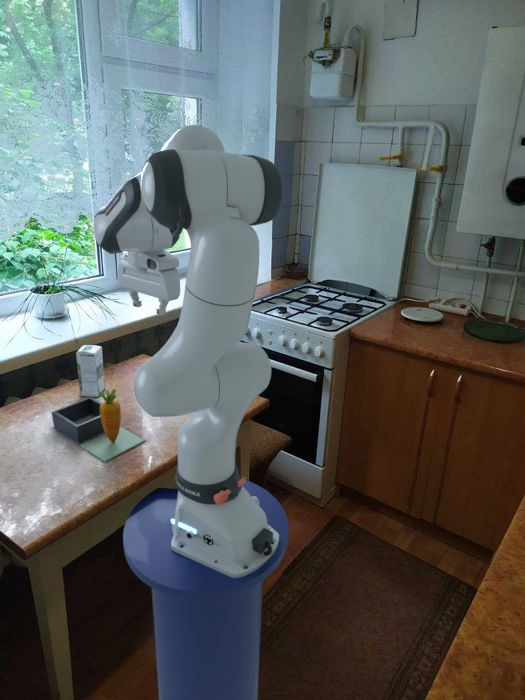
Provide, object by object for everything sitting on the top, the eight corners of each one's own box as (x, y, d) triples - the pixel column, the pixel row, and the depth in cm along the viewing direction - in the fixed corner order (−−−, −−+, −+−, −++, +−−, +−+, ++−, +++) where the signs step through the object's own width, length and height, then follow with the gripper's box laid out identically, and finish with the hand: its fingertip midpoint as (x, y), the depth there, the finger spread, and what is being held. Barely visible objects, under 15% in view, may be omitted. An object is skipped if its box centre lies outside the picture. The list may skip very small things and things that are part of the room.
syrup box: (87, 387, 153) (82, 344, 148) (105, 388, 153) (101, 345, 148) (80, 396, 148) (74, 351, 143) (99, 397, 148) (95, 352, 142)
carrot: (98, 445, 124) (93, 391, 118) (110, 435, 128) (105, 383, 122) (116, 449, 122) (111, 395, 117) (127, 439, 127) (122, 386, 121)
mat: (145, 441, 127) (144, 440, 127) (104, 462, 118) (104, 460, 118) (120, 427, 132) (120, 426, 132) (80, 446, 124) (80, 445, 123)
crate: (117, 426, 133) (116, 410, 131) (78, 444, 124) (76, 427, 123) (92, 412, 139) (90, 396, 138) (53, 428, 131) (51, 411, 129)
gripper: (109, 252, 125) (114, 304, 130) (163, 265, 114) (166, 322, 119) (130, 249, 130) (133, 299, 135) (183, 261, 118) (185, 316, 124)
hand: (149, 310), depth 127 cm, fingers open, 8 cm apart
